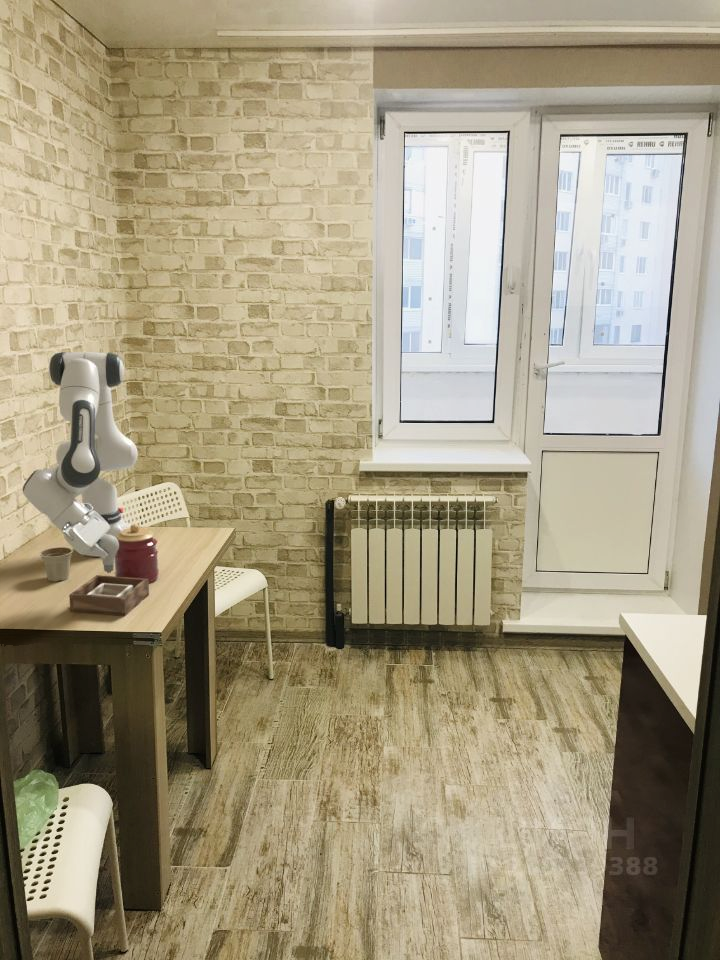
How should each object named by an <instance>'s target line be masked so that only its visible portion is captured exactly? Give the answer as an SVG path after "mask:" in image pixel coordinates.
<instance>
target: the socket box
mask: <svg viewBox="0 0 720 960" xmlns="http://www.w3.org/2000/svg"><path fill="white" fill-rule="evenodd" d="M149 584H150V583H149V582H148V579H144V578H129V577H115V575H114V576H111V575H95V576H94V577H92V578H90V579H89V580H87V582H85V583H83V584H82V585H81V586H79V587H78V588H76V589H75V590H74V591H72V592H71V593H70V594H69V595H68V596H69V597H68V598H69V612H70V613H80V614H81V613H83V614H93V615H94V614H95V615H107V616H119V617H120V616H121V617H127V615H129V613H130V612H132V611H133V610H134V609H135V608H136V607H137V606H138V605H139V604H141V603H142V602H143V601H144V600H145V599H146V598H148V596H150V588H149ZM142 600H143V601H142ZM141 601H142V602H141ZM140 602H141V603H140Z"/></svg>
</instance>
